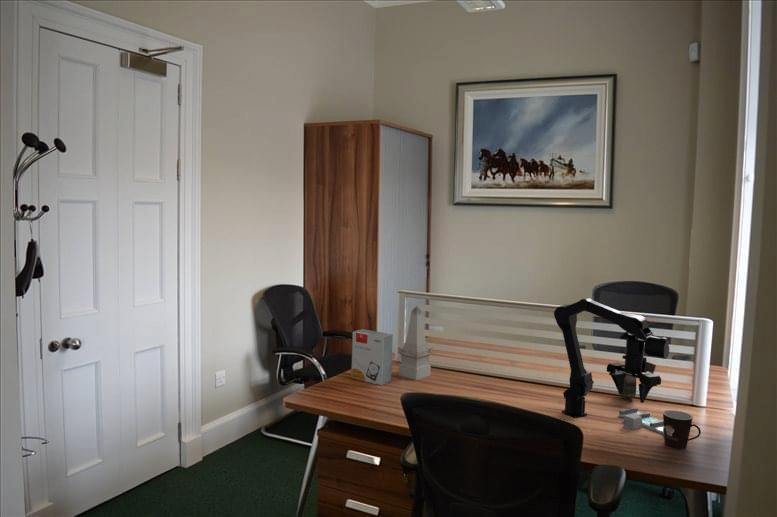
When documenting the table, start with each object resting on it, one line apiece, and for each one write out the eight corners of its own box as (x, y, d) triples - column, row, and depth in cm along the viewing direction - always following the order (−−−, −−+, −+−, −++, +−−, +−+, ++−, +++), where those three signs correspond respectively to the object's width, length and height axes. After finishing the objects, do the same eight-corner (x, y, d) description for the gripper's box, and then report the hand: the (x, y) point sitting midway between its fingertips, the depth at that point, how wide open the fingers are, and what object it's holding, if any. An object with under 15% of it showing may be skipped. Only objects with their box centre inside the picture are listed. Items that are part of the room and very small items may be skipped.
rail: (665, 435, 213) (665, 429, 212) (618, 416, 230) (619, 410, 230) (682, 432, 216) (682, 425, 216) (635, 413, 234) (635, 407, 234)
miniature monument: (431, 375, 275) (434, 306, 272) (416, 380, 268) (418, 309, 265) (412, 370, 282) (415, 302, 279) (397, 375, 274) (399, 305, 271)
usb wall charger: (641, 428, 219) (642, 416, 219) (628, 431, 216) (629, 420, 215) (631, 424, 223) (632, 413, 222) (618, 427, 219) (619, 416, 219)
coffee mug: (655, 440, 208) (657, 410, 207) (681, 440, 209) (683, 410, 208) (674, 454, 197) (676, 423, 196) (701, 454, 198) (704, 423, 197)
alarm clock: (636, 403, 245) (639, 361, 244) (621, 402, 246) (624, 360, 245) (631, 394, 256) (634, 354, 254) (617, 393, 257) (619, 353, 255)
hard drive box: (350, 379, 267) (351, 331, 265) (360, 374, 274) (361, 328, 272) (382, 385, 259) (383, 336, 257) (392, 381, 266) (393, 333, 263)
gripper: (674, 358, 212) (671, 404, 214) (630, 345, 228) (627, 388, 230) (650, 361, 207) (646, 408, 209) (606, 347, 223) (603, 391, 225)
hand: (631, 398), depth 218 cm, fingers open, 9 cm apart
